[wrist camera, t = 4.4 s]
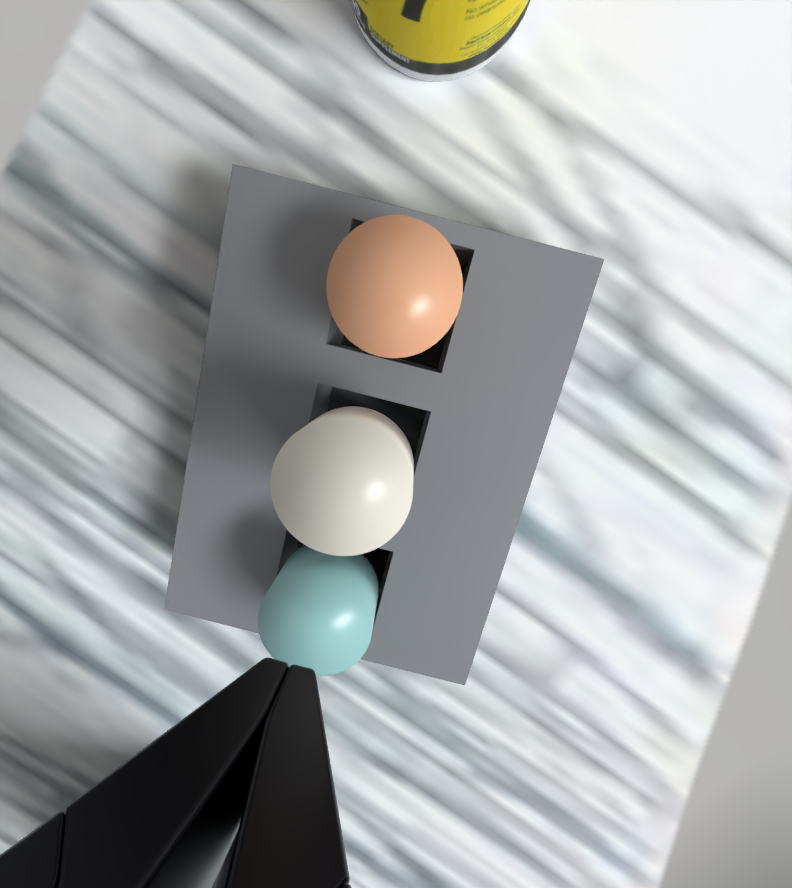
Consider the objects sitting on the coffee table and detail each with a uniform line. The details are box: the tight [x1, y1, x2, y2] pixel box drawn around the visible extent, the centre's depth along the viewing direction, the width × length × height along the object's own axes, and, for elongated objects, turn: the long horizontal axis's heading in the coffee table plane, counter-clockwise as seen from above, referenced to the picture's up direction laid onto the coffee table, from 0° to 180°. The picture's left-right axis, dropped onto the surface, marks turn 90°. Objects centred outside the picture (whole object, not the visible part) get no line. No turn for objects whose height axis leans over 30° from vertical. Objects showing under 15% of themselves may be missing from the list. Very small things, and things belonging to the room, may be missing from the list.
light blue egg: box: [258, 545, 379, 676], centre depth 13 cm, size 3×3×4 cm
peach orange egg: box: [326, 215, 463, 358], centre depth 11 cm, size 3×3×4 cm
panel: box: [164, 164, 604, 685], centre depth 13 cm, size 12×9×2 cm
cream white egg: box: [270, 406, 414, 556], centre depth 11 cm, size 3×3×4 cm
